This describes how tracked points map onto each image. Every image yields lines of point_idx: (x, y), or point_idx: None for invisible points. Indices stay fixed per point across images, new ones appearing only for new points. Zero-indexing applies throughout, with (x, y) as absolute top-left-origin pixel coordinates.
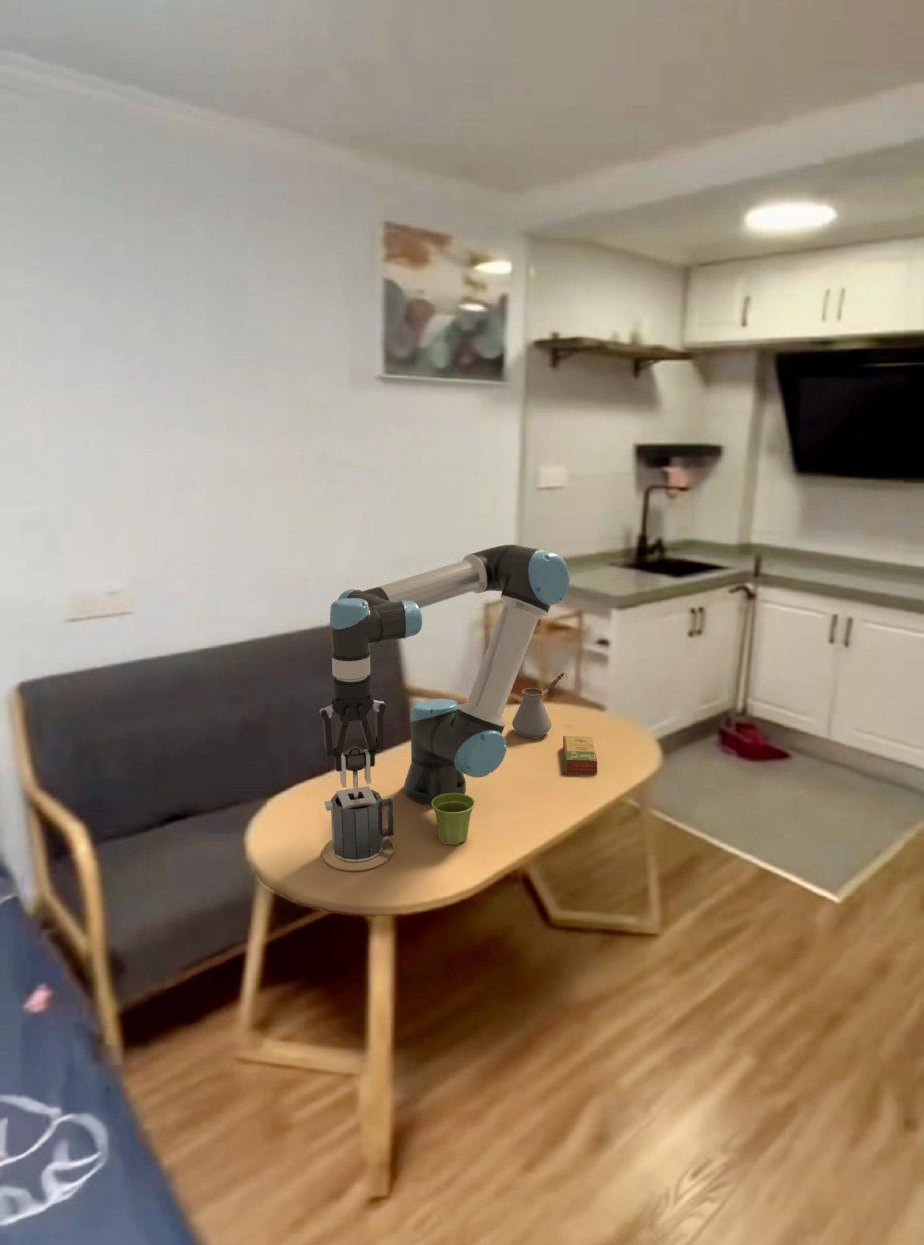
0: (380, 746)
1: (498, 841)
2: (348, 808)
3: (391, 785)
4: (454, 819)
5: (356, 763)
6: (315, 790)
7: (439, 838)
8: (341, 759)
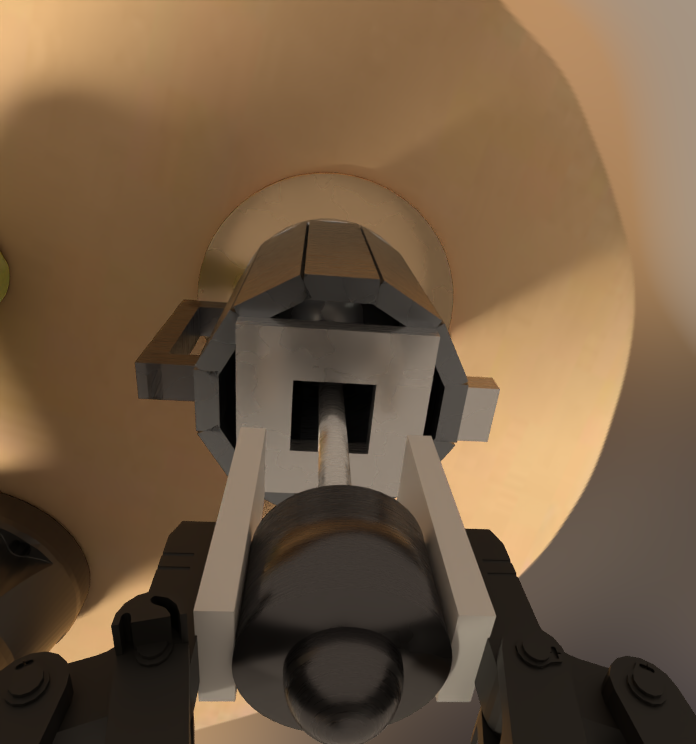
0: (28, 684)
1: None
2: (403, 326)
3: None
4: None
5: (353, 534)
6: None
7: (8, 272)
8: (488, 608)
